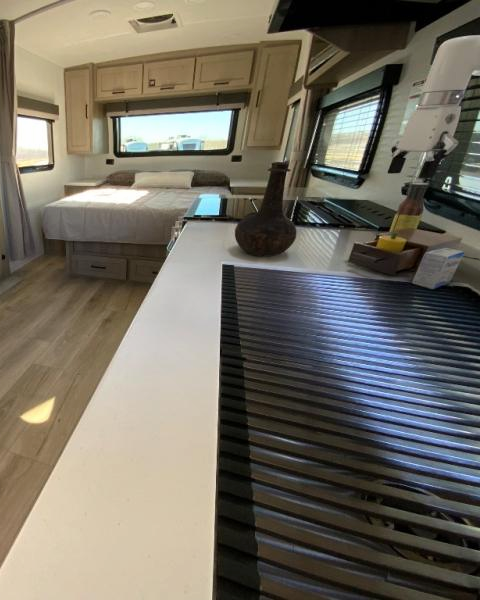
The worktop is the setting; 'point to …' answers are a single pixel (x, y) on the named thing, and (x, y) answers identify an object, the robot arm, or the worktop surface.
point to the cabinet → (424, 241)
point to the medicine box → (437, 267)
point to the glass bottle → (268, 220)
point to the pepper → (391, 243)
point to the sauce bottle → (410, 208)
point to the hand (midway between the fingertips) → (408, 175)
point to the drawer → (384, 257)
